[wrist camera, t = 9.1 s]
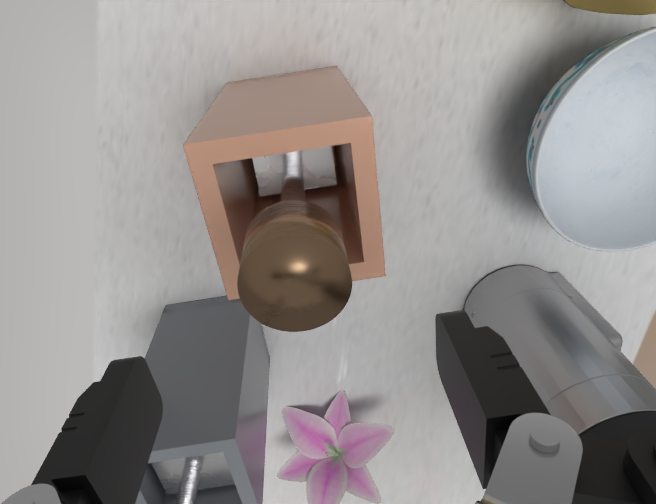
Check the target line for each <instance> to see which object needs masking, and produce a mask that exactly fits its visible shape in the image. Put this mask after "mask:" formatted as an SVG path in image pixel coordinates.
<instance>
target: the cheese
mask: <svg viewBox="0 0 656 504" xmlns="http://www.w3.org/2000/svg"><path fill="white" fill-rule="evenodd" d="M564 1H566V2H567V3H568V4H569V5H571V6H572V7H574V8H579V9H583V10H588V11H593V12H599V13H610V14H626V15H647V14H655V13H656V0H564Z"/></svg>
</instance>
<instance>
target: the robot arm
mask: <svg viewBox="0 0 656 504" xmlns="http://www.w3.org/2000/svg"><path fill="white" fill-rule="evenodd" d="M621 346H622V337H621V335H620V334H619V333H618V332H617V331H616V330H615V329H614V328H613V327H612V326H611V325H610V324H609V323H608V322H607V321H606V320H605V319H604V317H603V316H602V315H601V314H600V313H599V312H598V311H597V310H596V309H595V308H594V307H593V306H592V305H591V304H590V303H589V302H588V301H587V300H586V299H585V298H584V297H583V296H582V295H581V294H580V293H579V292H578V291H577V290H576V289H575V288H574V287H573V286H572V285H571V284H570V283H569V282H568V281H567V280H566V279H565V278H564V277H563V276H562V275H561V274H560V273H547V272H545V271H543V270H541V269H539V268H536V267H532V266H523V265H518V266H511V267H507V268H504V269H501V270H498V271H496V272H494V273H492V274H490V275H488V276H487V277H486V278H484V279H483V280H482V281H480V282H479V283H478V284H477V285H476V286H475V288H474V289H473V290H472V291H471V293H470V295H469V296H468V298H467V301H466V303H465V307H464V310H461V311H454V312H447V313H440V314H437V315H436V358H437V366H438V371H439V375H440V378H441V381H442V384H443V386H444V389H445V392H446V394H447V397H448V399H449V402H450V405H451V407H452V410H453V412H454V415H455V417H456V420H457V423H458V425H459V428H460V430H461V433H462V436H463V438H464V441H465V443H466V446H467V449H468V451H469V454H470V456H471V459H472V462H473V464H474V467H475V469H476V472H477V475H478V477H479V480H480V482H481V485H482V488H483V489H486V491H485V494H484V496H483V498H482V500H481V501H477V502H476V503H475V504H656V389H655V388H654V387H653V386H652V385H651V384H650V383H649V382H648V380H647V379H646V378H645V377H644V376H643V375H642V374H641V373H640V372H639V371H638V370H637V369H636V367H635V366H634V365H633V364H632V363H631V362H630V361H629V360H628V359H627V358H626V357H625V356H624V355H623V353H622V352H621ZM162 415H163V404H162V398H161V395H160V393H159V390H158V388H157V386H156V383H155V381H154V379H153V376H152V374H151V372H150V369H149V367H148V365H147V362H146V360H145V359H144V358H143V357H141V356H139V357H132V358H125V359H118V360H113V361H111V362H110V364H109V365H108V367H107V369H106V371H105V373H104V375H103V377H102V379H101V381H100V382H94V383H93V384H92V385H91V386H90V387H89V388H88V389H87V390H86V391H85V392H84V393H83V394H82V395H81V396H80V397H79V398H78V399H77V401H76V403H75V405H74V407H73V408H72V411H71V412H70V414H69V418H67V420H66V421H65V423H64V425H63V427H62V432H60V433H59V434H58V436H57V438H56V440H55V442H54V444H53V446H52V447H51V449H50V451H49V453H48V455H47V457H46V458H45V460H44V462H43V464H42V466H41V468H40V470H39V471H38V473H37V475H36V477H35V479H34V481H33V483H32V484H31V486H28V487H26V488H23V489H21V490H19V491H18V492H16V493H15V494H13V495H11V496H10V497H9V498H8V499H6V500H5V501H4V502H3V503H2V504H135V503H136V500H137V496H138V493H139V490H140V487H141V484H142V480H143V477H144V474H145V471H146V468H147V465H148V461H149V458H150V455H151V452H152V449H153V445H154V442H155V439H156V436H157V433H158V430H159V426H160V423H161V420H162Z"/></svg>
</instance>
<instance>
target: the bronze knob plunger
mask: <svg viewBox="0 0 656 504" xmlns="http://www.w3.org/2000/svg"><path fill="white" fill-rule="evenodd" d="M252 160H253V164H254V169H255V173H256V178H257V183H258V187H259V192H260V196H268V195H274V194H281V202H278V203H275V204H273V205H271V206H269V207H267V208H265V209H264V210H262V211H261V212H260V213H259V214H257V215H256V216H255V218H254V219H253V220H252V222H251V223H250V225H249V227H248V229H247V232H246V235H245V240H244V246H243V251H242V257H241V262H240V268H239V273H238V280H237V289H238V294H239V297H240V300H241V302H242V304H243V306H244V308H245V309H246V310H247V312H248V313H249V314H250V315H251V316H252V317H253V318H255V319H256V320H257V321H259V322H260V323H262V324H264V325H266V326H268V327H271V328H274V329H277V330H281V331H289V332H298V331H306V330H311V329H314V328H317V327H320V326H322V325H324V324H326V323H328V322H329V321H331V320H332V319H333V318H335V317H336V316H337V315H338V314H339V313H340V312H341V311H342V309H343V308H344V307H345V305H346V303H347V302H348V299H349V297H350V294H351V289H352V277H351V272H350V267H349V263H348V258H347V254H346V249H345V245H344V241H343V236H342V232H341V229H340V227H339V225H338V223H337V222H336V220H335V219H334V218H333V217H332V215H331V214H330V213H328V212H327V211H326V210H325V209H323V208H321V207H320V206H318V205H315V204H313V203H310V202H306V201H305V190H307V189H313V188H319V187H326V186H332V185H337V181H336V174H335V166H334V159H333V151H332V146H327V147H321V148H314V149H308V150H301V151H295V152H288V153H282V154H275V155H269V156H262V157H256V158H252Z"/></svg>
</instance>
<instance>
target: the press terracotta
mask: <svg viewBox="0 0 656 504" xmlns="http://www.w3.org/2000/svg"><path fill="white" fill-rule="evenodd" d="M327 146H332V151H333V159H334V166H335V174H336V181H337V185H332V186H326V187H319V188H313V189H307V190H305V201H306V202H310V203H313V204H315V205H318V206H320V207H321V208H323V209H325V210H326V211H327V212H328V213H330V214H331V215H332V217H333V218H334V219H335V220H336V222H337V223H338V225H339V227H340V229H341V232H342V236H343V241H344V245H345V249H346V254H347V258H348V263H349V267H350V272H351V277H352V281H356V280H362V279H369V278H375V277H382V276H386V274H385V262H384V251H383V239H382V227H381V216H380V204H379V193H378V181H377V169H376V158H375V146H374V135H373V123H372V115H371V114H370V112H369V111H368V110H367V108H366V107H365V105H364V104H363V102H362V101H361V100H360V98H359V97H358V95H357V94H356V92H355V91H354V89H353V88H352V87H351V85H350V84H349V82H348V81H347V79H346V78H345V77H344V75H343V74H342V72H341V71H340V69H339V68H338V67H337V66H332V67H326V68H319V69H313V70H307V71H300V72H294V73H287V74H281V75H274V76H268V77H261V78H255V79H248V80H242V81H235V82H229V83H227V84H226V85H225V87H224V88H223V89H222V91H221V92H220V94H219V95H218V96H217V98H216V99H215V101H214V102H213V103H212V105H211V106H210V108H209V109H208V110H207V112H206V113H205V115H204V116H203V118H202V119H201V120H200V122H199V123H198V125H197V126H196V127H195V129H194V130H193V132H192V133H191V134H190V136H189V137H188V139H187V140H186V141H185V143H184V144H183V147H184V150H185V154H186V157H187V160H188V164H189V167H190V171H191V174H192V177H193V181H194V184H195V188H196V191H197V195H198V198H199V201H200V205H201V208H202V212H203V215H204V218H205V222H206V225H207V229H208V232H209V235H210V239H211V242H212V246H213V249H214V253H215V256H216V259H217V263H218V266H219V270H220V273H221V276H222V280H223V283H224V287H225V290H226V293H227V297H228V300H233V299H239V298H240V297H239V294H238V289H237V280H238V273H239V268H240V262H241V257H242V251H243V246H244V240H245V235H246V232H247V229H248V227H249V225H250V223H251V222H252V220H253V219H254V218H255V216H256V215H257V214H259V213H260V212H261V211H262V210H264V209H265V208H267V207H269V206H271V205H273V204H275V203H278V202H281V194H274V195H268V196H260V192H259V187H258V183H257V178H256V173H255V169H254V164H253V160H252V158H256V157H262V156H269V155H275V154H282V153H288V152H295V151H301V150H308V149H314V148H321V147H327Z"/></svg>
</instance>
